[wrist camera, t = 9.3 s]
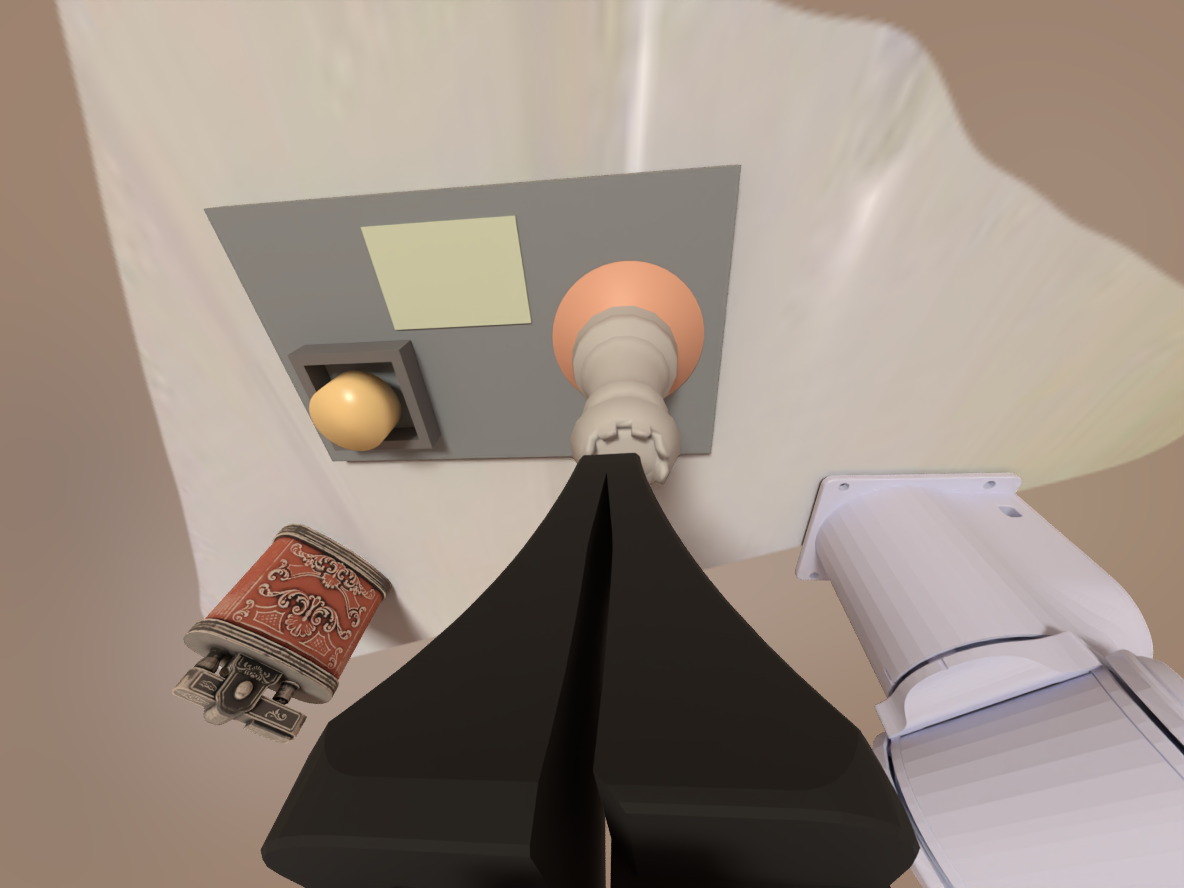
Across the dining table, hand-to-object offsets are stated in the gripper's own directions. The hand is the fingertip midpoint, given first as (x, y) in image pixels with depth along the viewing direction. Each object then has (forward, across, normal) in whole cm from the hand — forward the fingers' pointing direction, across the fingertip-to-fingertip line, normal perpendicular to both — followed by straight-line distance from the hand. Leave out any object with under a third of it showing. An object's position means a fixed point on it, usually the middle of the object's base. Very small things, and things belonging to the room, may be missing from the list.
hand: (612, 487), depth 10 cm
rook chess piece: (+10, 0, 0) cm, 10 cm away
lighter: (+11, +20, +14) cm, 27 cm away
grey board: (+10, +6, 0) cm, 12 cm away
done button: (+9, +12, +2) cm, 15 cm away
